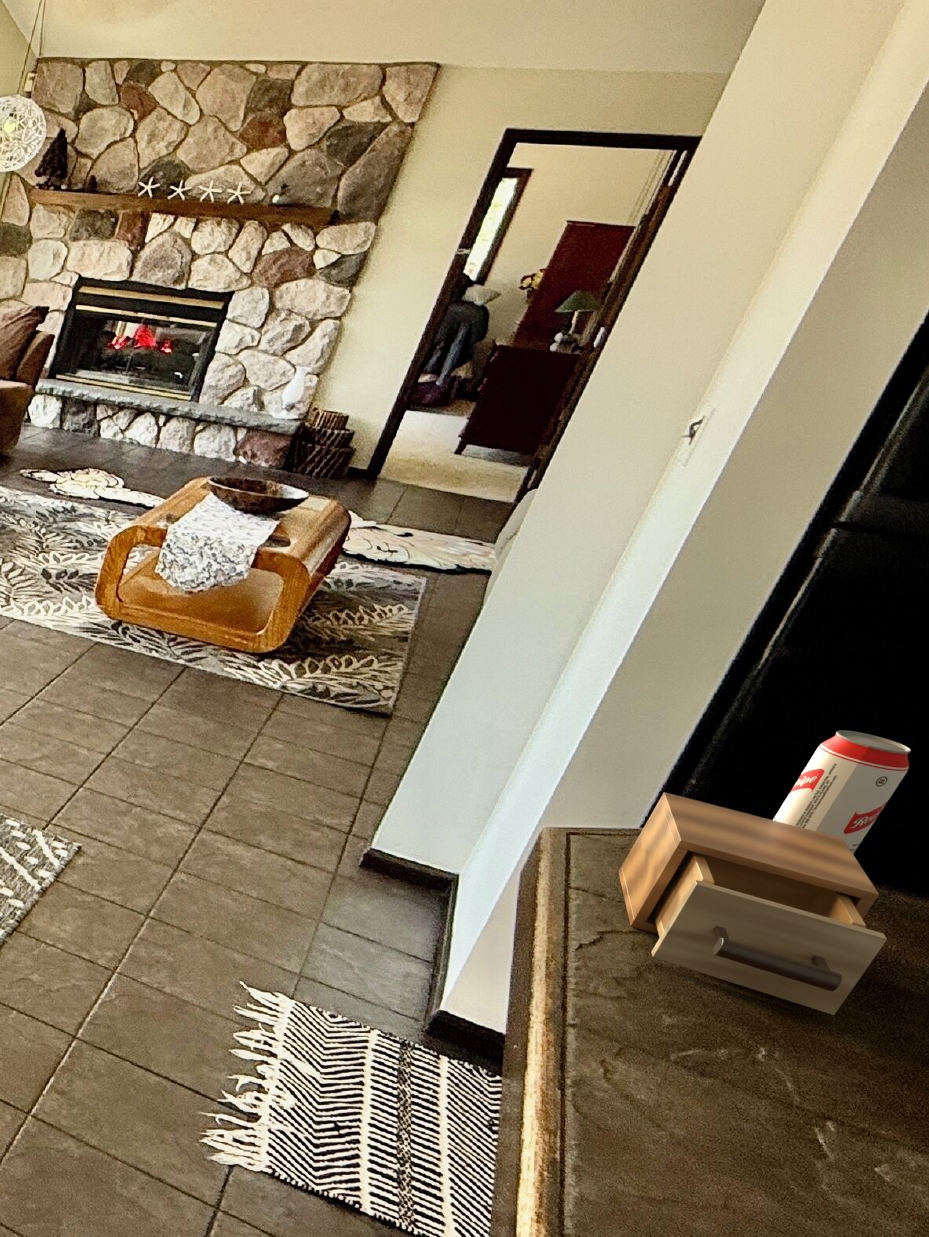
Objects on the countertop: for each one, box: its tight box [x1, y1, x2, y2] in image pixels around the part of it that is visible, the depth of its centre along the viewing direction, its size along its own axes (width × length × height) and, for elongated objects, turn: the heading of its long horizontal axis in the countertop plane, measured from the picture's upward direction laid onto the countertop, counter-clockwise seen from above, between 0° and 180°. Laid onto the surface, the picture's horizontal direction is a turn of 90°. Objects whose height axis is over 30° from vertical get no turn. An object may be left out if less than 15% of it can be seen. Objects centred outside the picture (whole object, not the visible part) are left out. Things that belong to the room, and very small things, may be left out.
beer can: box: [772, 730, 912, 855], centre depth 122 cm, size 6×6×16 cm
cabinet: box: [618, 792, 880, 936], centre depth 112 cm, size 15×13×10 cm
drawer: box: [651, 850, 888, 1016], centre depth 104 cm, size 18×11×8 cm, turn 139°
